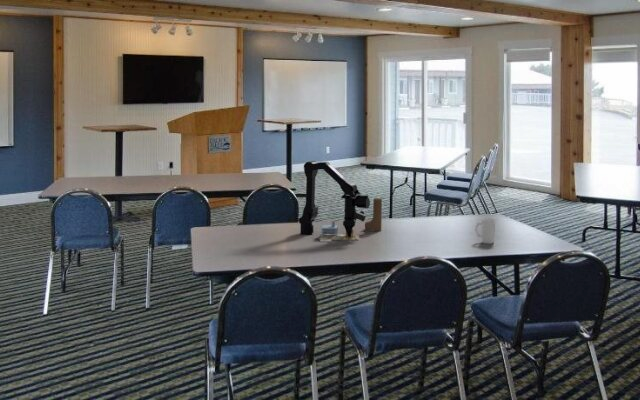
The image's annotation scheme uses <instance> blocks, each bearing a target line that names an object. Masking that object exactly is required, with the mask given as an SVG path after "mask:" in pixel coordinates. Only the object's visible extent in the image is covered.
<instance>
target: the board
mask: <svg viewBox="0 0 640 400" xmlns="http://www.w3.org/2000/svg"><path fill="white" fill-rule="evenodd" d="M321 238H322V239H332V240H331V241H333V240H334V241H335V240H336V241H359V240H360V234H354V238H346V234H339V233H338V234H337V237H335V234H324V235H323V237H321V233H320V234H319V237H318V240H320V239H321Z"/></svg>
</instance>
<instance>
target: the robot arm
mask: <svg viewBox="0 0 640 400" xmlns="http://www.w3.org/2000/svg"><path fill="white" fill-rule="evenodd" d="M319 170H323V171H324V172H325V173H326V174H327V175H328V176H330V177H331V178H332V179H333V180H334V181H335V182H336V183H337V184H338V185H339V187H340V189H341V191H342V192H343V195H342V196H340V198H341V199H344V218H343V222H342V225H343V227H344V229H345V233H346V232H347V235H348V237H351V232H352V228H354V227H355V226H356V221H357V220H358V221H359V220H360V221H361V222H364V223H365V220H366V217H367V214H365V211H363V210H361V211H357V208H358V209H366V210H367V209H369V208H370V205H371V201H370V198H369V195H367V194H365V195H363V194H361V192H360V191H359V189H358V186H357V184H356V183H355V182H353V181H352V180H349V179H347V178H345V177H344V176H343V174H341V173H340V172H339V171H338V170H337V169H336V168H335V167H334V166H332V164H331V163H330V162H329V161H318V162H317V161H315V160H311V161H307V162H305V163H304V164H303V172H304V175H305V177H306V182H305V183H306V184H305V185H306V188H305V205H304V207H303V210H302V216H301V217H299V218H298V224H300V233H299V235H306V236H307V235H313V234H314V231H315V229H314V224H313V222H315V219H317V217H318V215H319V212H318V210H319V207H318V206H316V202H315V196H316V177H317V175H318V173H319V172H318V171H319Z"/></svg>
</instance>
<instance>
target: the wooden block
mask: <svg viewBox="0 0 640 400" xmlns="http://www.w3.org/2000/svg"><path fill="white" fill-rule="evenodd" d="M372 202H373V203H372V205H373V207H372V208H373V209H372V212H373V213H372V216H373V217H372V219H371V220H368V221H364V231H365V232H381V231H382V225H383V224H382V215H383V211H382V210H383V208H382V206H383V198H381V197H380V198H379V197H374V198H373V201H372Z"/></svg>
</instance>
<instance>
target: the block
mask: <svg viewBox="0 0 640 400" xmlns="http://www.w3.org/2000/svg"><path fill="white" fill-rule="evenodd" d="M354 229H355V228H354V227H353V228H352V232H351V237H348V235H347V232H346V231H345V235H346V237H345V238H355V237H354V235H355V230H354Z"/></svg>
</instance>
